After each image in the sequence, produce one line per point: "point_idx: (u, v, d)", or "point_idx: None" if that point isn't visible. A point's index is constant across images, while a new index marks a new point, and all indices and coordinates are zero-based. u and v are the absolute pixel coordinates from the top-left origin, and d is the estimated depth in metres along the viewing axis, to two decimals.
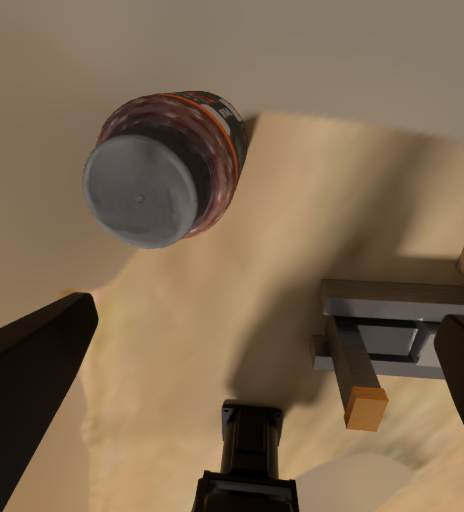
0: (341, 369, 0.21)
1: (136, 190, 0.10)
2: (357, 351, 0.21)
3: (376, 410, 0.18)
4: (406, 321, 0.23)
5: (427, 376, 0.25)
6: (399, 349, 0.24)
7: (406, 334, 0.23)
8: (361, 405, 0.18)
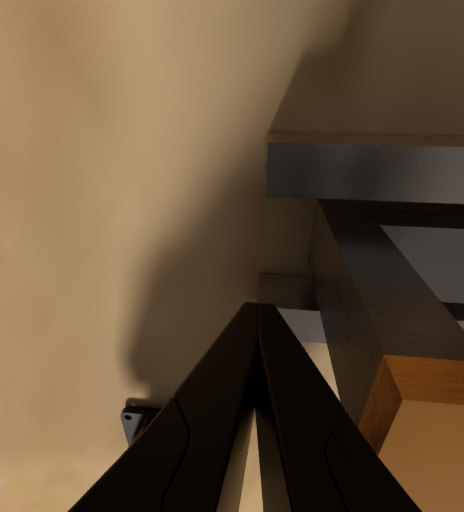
0: (341, 321, 0.08)
1: None
2: (386, 268, 0.07)
3: None
4: None
5: None
6: None
7: None
8: (421, 429, 0.04)
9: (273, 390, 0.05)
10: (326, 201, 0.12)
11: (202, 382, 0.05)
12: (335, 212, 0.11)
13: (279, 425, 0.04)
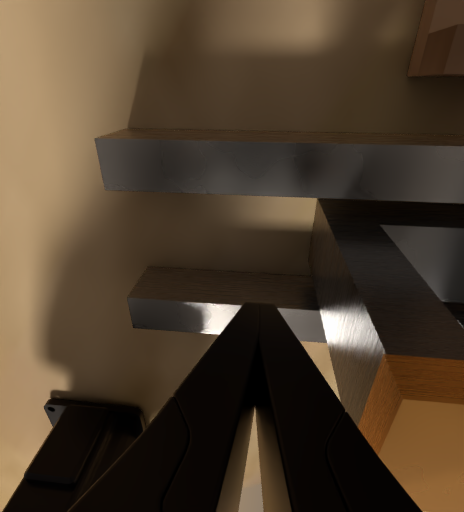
0: (341, 320, 0.08)
1: None
2: (387, 267, 0.07)
3: None
4: None
5: None
6: None
7: None
8: (421, 428, 0.04)
9: (273, 390, 0.05)
10: (326, 201, 0.12)
11: (202, 382, 0.05)
12: (335, 212, 0.11)
13: (279, 425, 0.04)
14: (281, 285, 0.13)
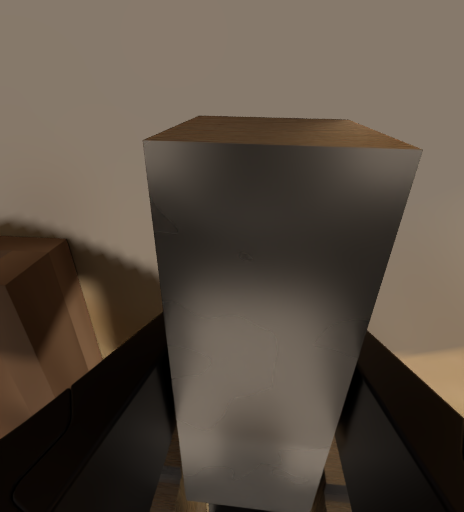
0: None
1: None
2: None
3: None
4: None
5: None
6: None
7: None
8: None
9: (383, 399, 0.05)
10: None
11: (103, 374, 0.05)
12: None
13: (406, 436, 0.04)
14: None
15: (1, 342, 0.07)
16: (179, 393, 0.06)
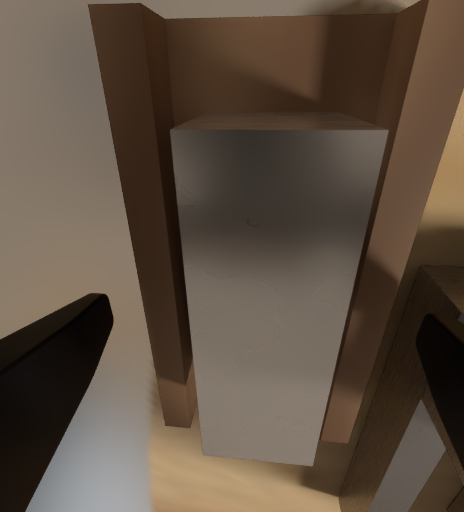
0: None
1: None
2: None
3: None
4: None
5: None
6: None
7: None
8: None
9: None
10: None
11: None
12: None
13: None
14: None
15: (414, 110, 0.06)
16: (197, 349, 0.07)
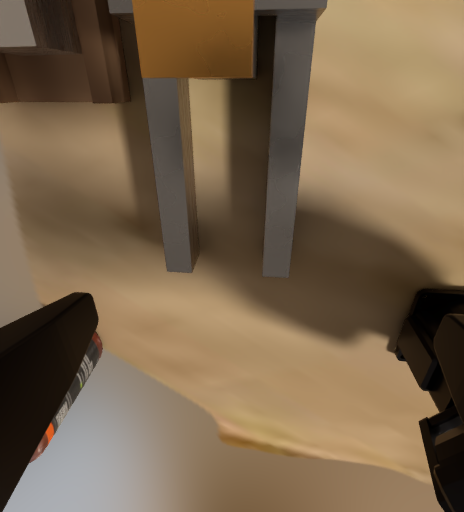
0: None
1: None
2: None
3: (170, 14, 0.08)
4: None
5: (301, 112, 0.14)
6: None
7: None
8: (161, 58, 0.08)
9: None
10: None
11: None
12: None
13: None
14: None
15: None
16: None
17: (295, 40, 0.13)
